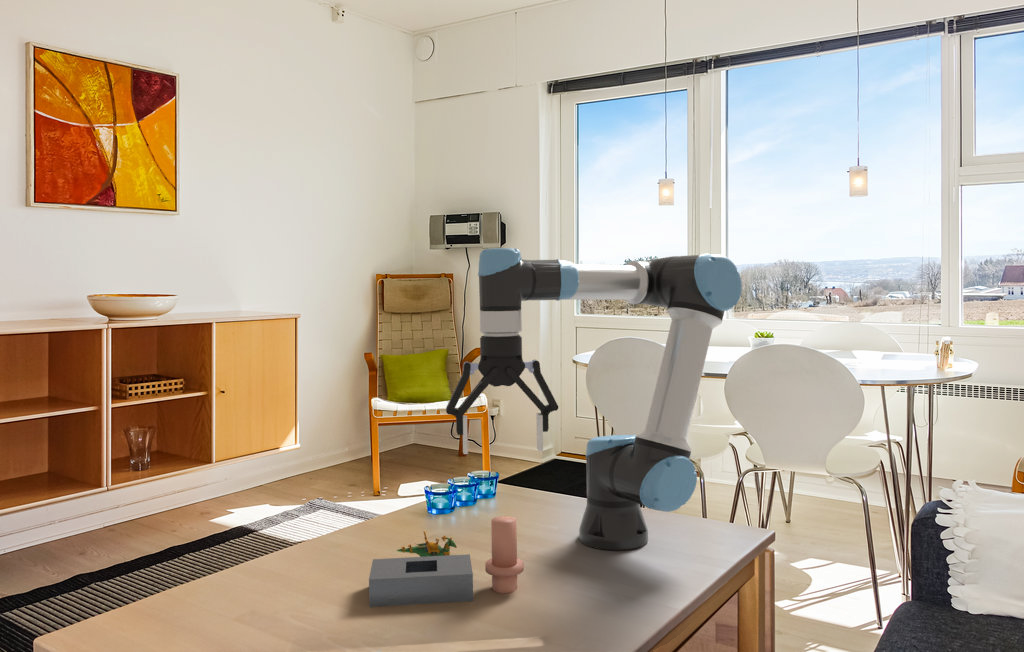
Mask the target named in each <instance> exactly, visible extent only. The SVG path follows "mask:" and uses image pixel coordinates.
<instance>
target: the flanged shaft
mask: <svg viewBox="0 0 1024 652" xmlns="http://www.w3.org/2000/svg"><path fill="white" fill-rule="evenodd" d="M490 524H491V558H489V559H487V560H486V561H485V563H484V564H485V566H484V569H485V573H486V574H488V575H490V576H491V584H492V586H491V588H492V591H493V592H496V593H499V594H510V593H513V592H515V591H517V590H518V575H520V574H522V573H523V572H524V568H525V565H524V561H523V560H522V559H520V558H519V557H518V546H517V545H518V541H517V540H518V538H517V537H518V536H517V534H518V532H517V529H518V528H517V527H518V526H517V518H515V517H513V516H509V515H506V516H503V515H502V516H496V517H492V518H491V523H490Z"/></svg>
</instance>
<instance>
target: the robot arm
mask: <svg viewBox="0 0 1024 652" xmlns="http://www.w3.org/2000/svg"><path fill="white" fill-rule="evenodd" d="M478 257H479V259H478V260H479V261H478V273H477V276H478V288H479V291H478V293H479V332H480V333H481V334H483V335H481V336H480V338H479V340H480V343H479V346H480V351H479V352H480V358H479V362H478V363H477V362H469V361H464V362H463V364H462V374H461V376H460V378H459V380H458V382H457V384H456V386H455V388H454V390H453V392H452V395H451V397H450V399H449V401H448V404H446V407H445V412H446V413H447V414H448V415H451V416H453V417H455V421H456V422H455V425H456V427H455V428H456V430H455V431H456V433H457V436H462V453H463V455H468V454H469V449H468V448H469V445H468V443H469V440H468V416H467V415H465V414H466V413H467V411H468V410H469V409H470V408H471V406H473V404H474V403H475V401H476V400H477V399H478V398H479V397H480V395H481V394H482V393H484V390H486V388H487V387H488V386H489V385H490V386H492V387H493V388H494V387H501V386H503V387H511V386H513V385H514V384H516V385H517V386H518V387H519V389H520V390H521V391H522V392H523V393H524V394H525V395H526V396H527V397H528V398H529V400H530V401H531V402H532V403H533V404H534V405H535V407H536V408H537V409H538V410H539V411H540V412H536V415H535V416H536V449H537V451H539V452H544V433H546V432H548V431H549V429H550V427H549V425H550V424H549V415H550V414H551V413H552V412H554V411H555V412H556V411H558V409H559V405H558V403H557V401H556V399H555V397H554V395H553V394H552V391H551V389H550V387H549V386H548V384H547V382H546V379H545V378H544V376H543V374H542V371H541V364H540V361H539V360H537V359H532V360H531V361H530V360H529V361H524V360H523V339H522V338H523V336H521V335H520V334H519V333H521V332H522V329H523V328H522V327H523V326H522V301H523V302H525V301H561V300H565V301H566V300H571V301H572V300H575V301H576V300H577V301H578V300H579V301H580V300H591V301H594V300H596V301H597V300H599V301H601V300H602V301H603V300H604V301H605V300H607V301H608V300H610V301H611V300H612V301H613V300H617V301H619V300H620V301H621V300H625V302H627V303H628V304H630V305H646V306H654V307H659V308H664V309H665V308H666V312H667V314H668V316H669V317H670V318H671V323H670V327H669V330H668V334H667V339H666V343H665V347H664V350H663V355H662V359H661V362H660V367H659V371H658V375H657V380H656V384H655V388H654V392H653V395H652V401H651V405H650V408H649V411H648V416H647V420H646V425H645V429H644V430H643V431H641V432H639V433H638V434H636V435H635V434H614V435H613V434H611V435H602V436H595V437H592V438H591V439H588V442H587V443H586V450H585V451H586V453H585V460H586V461H585V463H586V464H585V465H586V467H585V468H586V469H585V470H586V507H585V509H584V513H583V515H582V516H583V517H582V519H581V522H580V526H579V531H578V532H579V533H578V534H579V535H578V538H579V541H580V542H581V543H583V544H584V545H585V546H588V547H591V548H595V549H600V550H607V551H608V550H609V551H610V550H611V551H627V550H633V549H637V548H641V547H643V546H645V545H646V544H647V543H648V542H649V530H648V527H647V524H646V521H645V517H644V515H643V511H642V508H641V506H644V507H646V508H647V509H649V510H653V511H660V512H664V513H669V512H670V513H671V512H674V511H677V510H680V508H681V507H682V506H684V505H686V504H687V502H689V500H690V499H691V498H692V496H693V494H694V492H695V490H696V488H697V482H698V473H697V471H696V467H695V465H694V463H693V462H692V461H691V460H690V458H691V455H692V449H691V447H690V445H689V443H688V441H687V438H688V434H689V430H690V425H691V421H692V417H693V413H694V409H695V404H696V400H697V396H698V391H699V387H700V383H701V379H702V375H703V370H704V366H705V362H706V358H707V355H708V354H707V353H708V349H709V346H710V341H711V337H712V332H713V330H714V329H715V328H716V327H718V326H720V325H721V324H722V323H723V320H724V319H723V318H724V315H725V312H726V311H727V312H728V311H729V310H731V309H734V306H736V305H737V304H738V303H739V301H740V299H741V295H742V289H743V288H742V287H743V286H742V278H741V275H740V272H738V269H737V266H736V265H735V263H734V262H733V261H732V260H731V259H730V258H729V257H728V256H726V255H722V254H714V253H713V254H711V253H702V254H693V255H689V254H688V255H675V256H674V255H673V256H668V257H667V256H666V257H661V258H655V259H646V260H630V261H629V262H627V263H626V264H591V263H590V264H589V263H585V264H584V263H581V264H580V263H573V262H572V261H570V260H566V259H565V260H564V259H563V260H562V259H558V258H557V259H522V256H521V251H520V249H518V248H512V247H503V248H502V247H497V248H495V247H494V248H485V249H482V250H481V252H480V253H479V256H478ZM525 369H526V370H528V372H529V373H531V374H533V376H534V379H535V381H536V382H537V385H538V386H539V388H540V391H541V392H542V394H543V396H544V398H545V400H546V402H547V404H546V405H545V404H544V403H543V402H542V401H541V399H540V398H539V397H538V396H537V395H536V394H535V392H533V390H532V389H531V388H530V387H529V386H528V385H527V384H526V382H525V381H524V380H523V379H522V378H521V377H520V376H521V375H522V374H523V372H524V371H525ZM477 370H478V371H479V373H480V374H481V375H482V376H483V377H482V378H481V379H480V380H479V381H478V383H477V384H476V385H475V387H474V388H473V389H472V391H471V392H470V393H469V394H468V395H467V397H465V399H464V400H463V402H462V403H461V404H460V405H459V407H458V408H457V404H458V402H459V400H460V398H461V396H462V394H463V392H464V390H465V387H466V386H467V384H468V381H469V379H470V375H471V376H472V375H474V374H475V372H476V371H477Z"/></svg>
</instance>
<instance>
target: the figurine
mask: <svg viewBox="0 0 1024 652" xmlns="http://www.w3.org/2000/svg"><path fill="white" fill-rule="evenodd" d="M423 535H424V541H425V542H422V543H414V544H416V545H415V546H412V544H408V545H407V548H405V546H402V547H401V548H399V549H396V552H400V553H409V554H416V555H418V557H427V556H447V555H452V553H451V548H454V549H457V547H458V546H457V544H456V543H455V541H454V540H453V537H452V536H450V538H449V537H448V536H446V535H443V536H441V540H442V541H443V542H445V544H444V546H443V547H442V546H441V545H440V544H439V542H440V538H438V537H437V538H435V541H436V542H433V541H431V542H430V541H429V540H428V537H427V533H426V531H425V530H424V531H423ZM446 540H447V541H446Z"/></svg>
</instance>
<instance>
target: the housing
mask: <svg viewBox="0 0 1024 652" xmlns="http://www.w3.org/2000/svg"><path fill="white" fill-rule="evenodd" d="M368 598H369V602H368V603H369V608H374V607H375V608H377V607H394V606H408V605H409V606H411V605H424V604H425V605H427V604H428V605H429V604H444V603H459V602H460V603H461V602H463V603H464V602H474V573H473V567H472V560H471V555H470V553H469V554H451V555H447V556H427V557H420V556H413V557H411V556H408V557H392V558H391V557H390V558H374V559H372V562H371V568H370V571H369V577H368Z"/></svg>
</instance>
